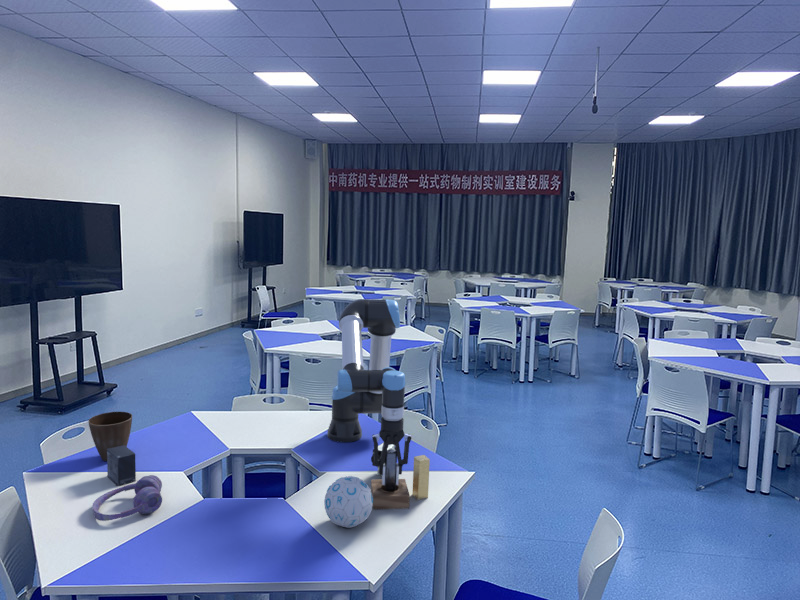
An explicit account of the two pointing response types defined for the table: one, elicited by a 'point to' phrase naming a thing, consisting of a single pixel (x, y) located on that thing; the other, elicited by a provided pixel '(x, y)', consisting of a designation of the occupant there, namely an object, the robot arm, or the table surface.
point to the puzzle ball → (348, 501)
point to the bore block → (390, 495)
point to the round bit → (390, 470)
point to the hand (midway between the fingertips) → (390, 482)
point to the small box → (121, 465)
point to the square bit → (421, 477)
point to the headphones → (143, 501)
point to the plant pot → (110, 431)
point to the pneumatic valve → (380, 454)
